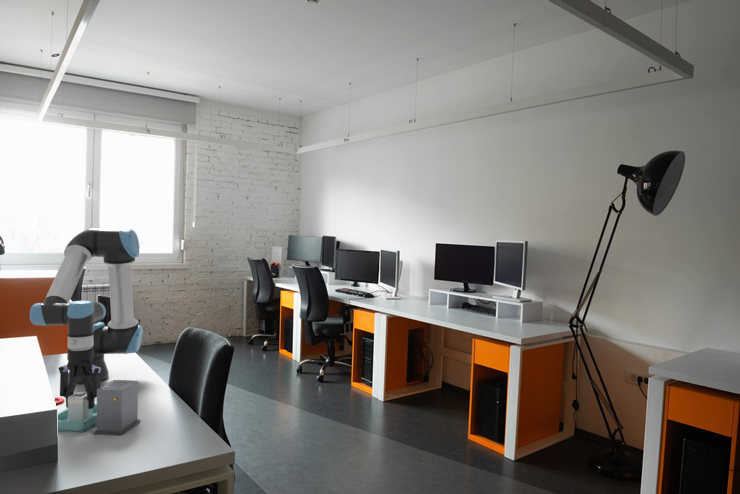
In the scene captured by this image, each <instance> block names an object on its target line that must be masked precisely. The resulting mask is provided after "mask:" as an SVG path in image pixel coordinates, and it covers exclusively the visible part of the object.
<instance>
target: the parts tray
mask: <svg viewBox="0 0 740 494" xmlns="http://www.w3.org/2000/svg"><path fill="white" fill-rule="evenodd" d="M57 413H58V431H57V432H68V431H71V432H72V433H85V432H87V430H90V429H91V428H93V427H94V426H95V425H96V426H97V402H96V403H95V406H94V408H92V416H91V417H89V418H88V419H86V420H84V421H68V408H65V409H63V410H61V411H59V412H57Z"/></svg>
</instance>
